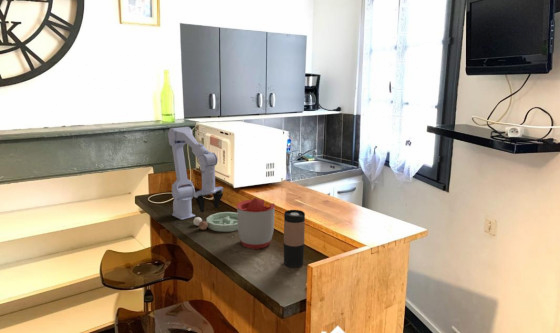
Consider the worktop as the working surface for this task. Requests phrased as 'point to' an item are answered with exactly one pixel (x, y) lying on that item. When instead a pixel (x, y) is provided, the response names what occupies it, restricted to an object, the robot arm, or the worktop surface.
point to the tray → (220, 217)
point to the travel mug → (294, 238)
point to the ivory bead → (197, 221)
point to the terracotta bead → (203, 225)
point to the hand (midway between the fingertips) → (209, 209)
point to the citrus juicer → (255, 223)
